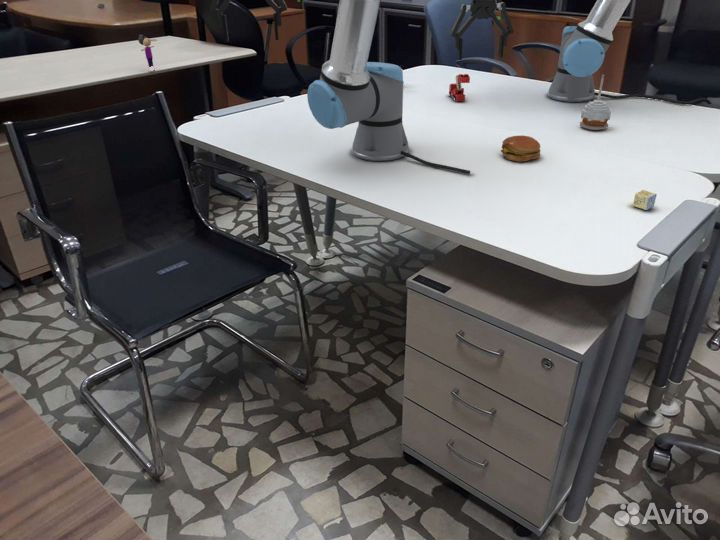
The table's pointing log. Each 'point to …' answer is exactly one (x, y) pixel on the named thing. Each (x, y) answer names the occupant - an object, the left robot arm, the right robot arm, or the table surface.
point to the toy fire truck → (458, 87)
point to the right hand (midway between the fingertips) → (479, 58)
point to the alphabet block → (644, 200)
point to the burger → (520, 148)
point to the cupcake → (596, 113)
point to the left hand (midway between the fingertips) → (252, 40)
